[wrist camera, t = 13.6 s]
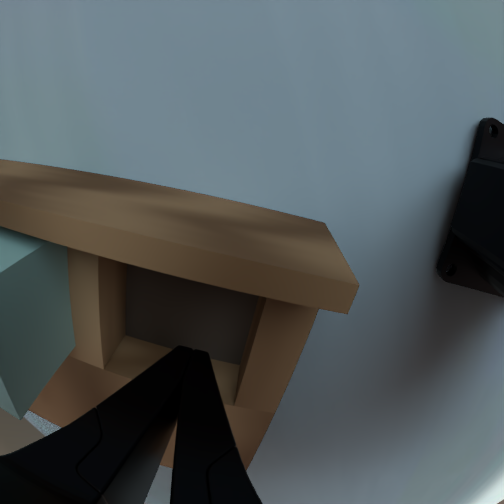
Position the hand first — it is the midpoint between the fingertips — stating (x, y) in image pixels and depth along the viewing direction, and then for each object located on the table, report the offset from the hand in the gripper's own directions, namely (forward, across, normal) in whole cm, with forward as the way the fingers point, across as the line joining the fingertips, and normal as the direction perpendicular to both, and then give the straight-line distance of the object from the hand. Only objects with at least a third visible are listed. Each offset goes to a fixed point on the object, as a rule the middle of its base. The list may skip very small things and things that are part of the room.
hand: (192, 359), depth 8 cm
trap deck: (+4, +6, +3) cm, 7 cm away
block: (+1, +7, 0) cm, 7 cm away
